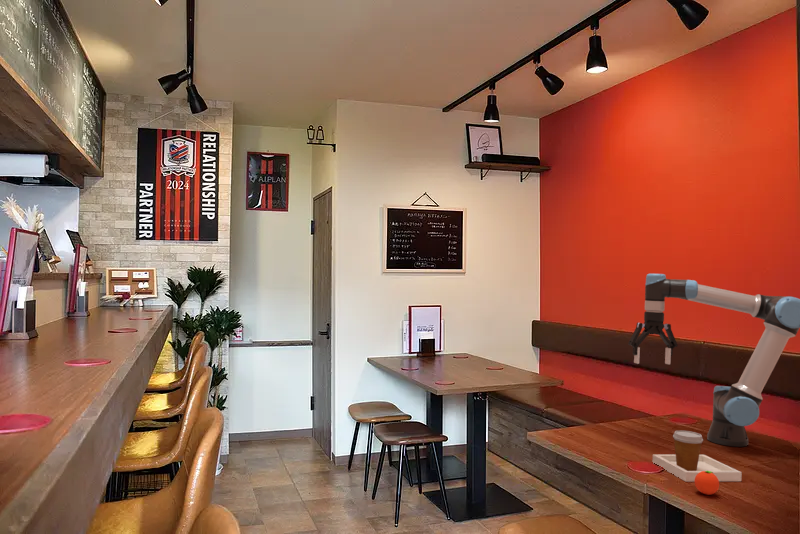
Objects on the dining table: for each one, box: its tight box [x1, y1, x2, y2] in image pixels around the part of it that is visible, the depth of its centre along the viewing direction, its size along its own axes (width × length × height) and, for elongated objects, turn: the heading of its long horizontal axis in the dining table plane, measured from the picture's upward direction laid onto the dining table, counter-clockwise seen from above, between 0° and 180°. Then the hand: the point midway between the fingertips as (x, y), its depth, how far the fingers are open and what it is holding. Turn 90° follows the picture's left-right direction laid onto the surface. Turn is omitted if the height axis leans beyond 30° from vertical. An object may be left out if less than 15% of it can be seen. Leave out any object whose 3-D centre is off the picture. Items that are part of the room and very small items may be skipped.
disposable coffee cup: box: [672, 430, 704, 471], centre depth 216 cm, size 10×10×12 cm
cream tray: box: [651, 454, 742, 483], centre depth 216 cm, size 20×20×3 cm
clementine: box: [694, 471, 720, 496], centre depth 194 cm, size 8×7×7 cm
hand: (652, 363), depth 254 cm, fingers open, 13 cm apart
